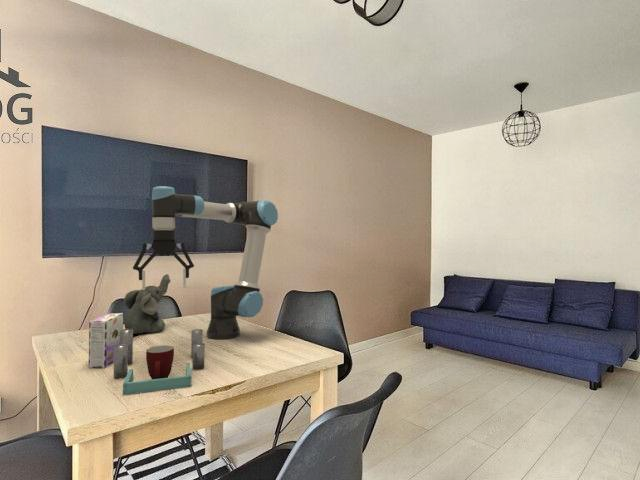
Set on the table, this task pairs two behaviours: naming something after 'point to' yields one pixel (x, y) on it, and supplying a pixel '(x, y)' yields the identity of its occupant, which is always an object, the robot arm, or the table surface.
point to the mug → (159, 361)
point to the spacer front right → (120, 361)
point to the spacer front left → (198, 356)
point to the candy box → (104, 339)
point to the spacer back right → (127, 342)
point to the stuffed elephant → (145, 308)
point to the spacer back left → (196, 337)
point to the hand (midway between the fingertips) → (164, 288)
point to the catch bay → (155, 383)
